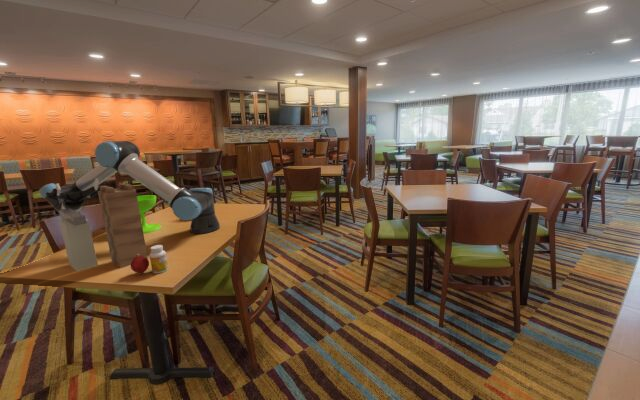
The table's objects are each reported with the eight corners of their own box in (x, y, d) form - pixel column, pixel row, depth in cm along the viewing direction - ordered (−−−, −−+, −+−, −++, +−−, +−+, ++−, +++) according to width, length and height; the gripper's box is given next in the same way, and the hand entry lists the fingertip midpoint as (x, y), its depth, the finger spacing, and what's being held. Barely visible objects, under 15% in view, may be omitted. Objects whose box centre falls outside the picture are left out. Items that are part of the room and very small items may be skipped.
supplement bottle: (149, 271, 112) (145, 247, 110) (163, 266, 116) (159, 243, 114) (157, 274, 109) (153, 250, 107) (171, 269, 113) (167, 245, 111)
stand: (111, 261, 122) (96, 186, 115) (138, 253, 130) (125, 182, 123) (120, 267, 116) (105, 188, 109) (147, 259, 124) (135, 184, 117)
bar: (60, 216, 122) (58, 209, 121) (71, 214, 124) (69, 208, 124) (75, 225, 108) (73, 217, 108) (86, 223, 111) (85, 215, 110)
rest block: (69, 264, 120) (59, 220, 116) (90, 258, 126) (80, 216, 121) (76, 271, 114) (65, 224, 110) (97, 264, 119) (88, 220, 115)
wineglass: (138, 235, 154) (132, 202, 150) (122, 231, 161) (116, 199, 157) (167, 227, 167) (162, 196, 163) (150, 223, 175) (145, 194, 171)
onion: (137, 270, 113) (134, 251, 111) (153, 269, 113) (149, 250, 112) (129, 277, 107) (125, 257, 106) (145, 276, 108) (142, 256, 106)
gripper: (105, 204, 149) (115, 186, 136) (40, 216, 130) (43, 197, 117) (100, 191, 150) (109, 172, 137) (34, 201, 131) (37, 180, 117)
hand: (79, 183), depth 127 cm, fingers open, 13 cm apart
